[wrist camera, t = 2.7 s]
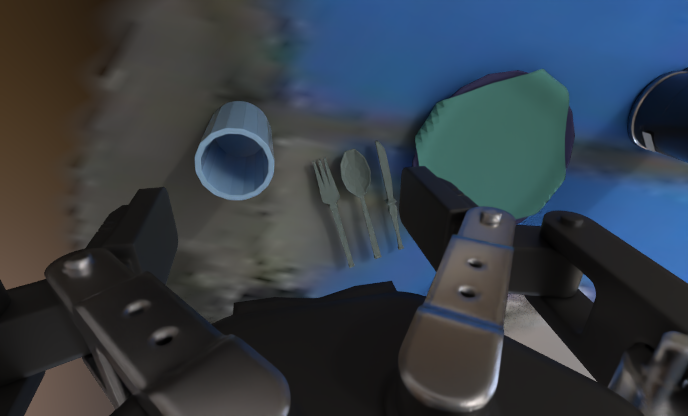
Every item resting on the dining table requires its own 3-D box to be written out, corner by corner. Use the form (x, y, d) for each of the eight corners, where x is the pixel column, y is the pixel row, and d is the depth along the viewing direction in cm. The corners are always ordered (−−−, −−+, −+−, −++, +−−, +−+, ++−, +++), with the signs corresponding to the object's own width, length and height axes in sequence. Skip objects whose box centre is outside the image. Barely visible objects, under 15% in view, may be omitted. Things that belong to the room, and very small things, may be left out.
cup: (240, 87, 36) (234, 111, 28) (282, 132, 39) (289, 167, 30) (196, 128, 37) (177, 164, 29) (241, 169, 40) (236, 213, 31)
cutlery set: (560, 202, 50) (573, 210, 48) (346, 274, 49) (349, 285, 47) (566, 45, 41) (582, 46, 39) (299, 128, 39) (301, 134, 37)
